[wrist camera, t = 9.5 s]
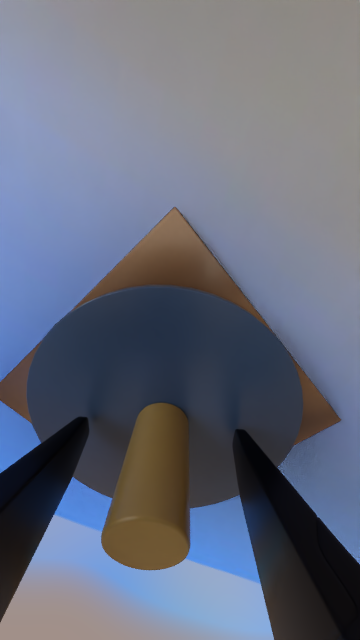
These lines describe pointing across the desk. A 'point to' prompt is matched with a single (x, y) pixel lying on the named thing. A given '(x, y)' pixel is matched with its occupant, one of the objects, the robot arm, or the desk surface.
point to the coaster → (180, 270)
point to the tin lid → (163, 407)
